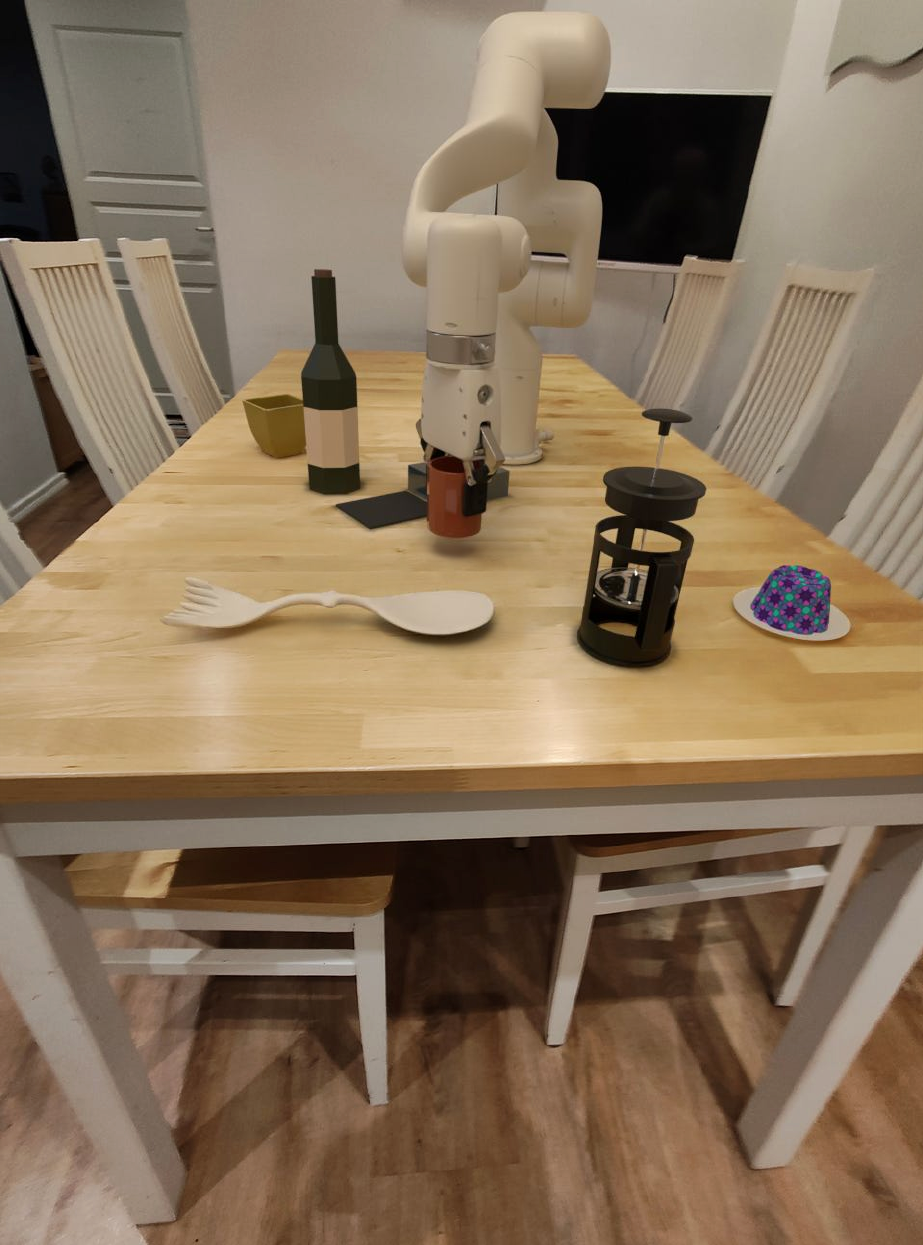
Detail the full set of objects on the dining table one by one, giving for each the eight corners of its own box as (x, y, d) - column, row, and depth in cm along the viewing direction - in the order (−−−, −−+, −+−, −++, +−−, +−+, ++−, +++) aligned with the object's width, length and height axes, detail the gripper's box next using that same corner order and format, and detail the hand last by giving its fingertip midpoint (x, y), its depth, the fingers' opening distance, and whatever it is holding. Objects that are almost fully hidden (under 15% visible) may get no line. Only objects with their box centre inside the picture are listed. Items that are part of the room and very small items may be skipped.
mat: (405, 492, 104) (405, 490, 104) (443, 513, 97) (443, 510, 97) (335, 506, 98) (335, 504, 98) (370, 529, 91) (370, 527, 91)
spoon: (190, 601, 72) (185, 572, 70) (488, 604, 74) (490, 575, 73) (163, 647, 64) (156, 615, 62) (497, 648, 67) (500, 617, 65)
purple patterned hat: (864, 653, 69) (882, 608, 66) (741, 638, 70) (754, 593, 68) (829, 599, 79) (844, 558, 76) (723, 587, 81) (734, 546, 78)
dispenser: (469, 478, 112) (471, 441, 109) (507, 496, 105) (510, 458, 102) (407, 490, 105) (407, 451, 102) (444, 510, 99) (446, 469, 96)
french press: (564, 617, 73) (595, 396, 61) (648, 615, 74) (694, 398, 62) (596, 680, 63) (640, 430, 51) (692, 677, 64) (757, 431, 52)
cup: (460, 512, 88) (462, 452, 84) (492, 530, 84) (496, 467, 80) (416, 523, 85) (416, 460, 81) (447, 542, 80) (449, 477, 76)
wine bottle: (351, 497, 101) (341, 273, 86) (298, 492, 103) (280, 269, 87) (368, 480, 108) (362, 270, 93) (319, 475, 110) (305, 266, 95)
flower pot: (271, 463, 114) (265, 409, 109) (247, 451, 119) (241, 398, 115) (316, 455, 119) (313, 403, 114) (292, 443, 124) (287, 393, 120)
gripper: (539, 360, 70) (524, 521, 79) (443, 334, 81) (439, 477, 91) (482, 366, 66) (473, 535, 75) (389, 338, 77) (391, 487, 87)
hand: (455, 502), depth 83 cm, fingers closed on cup, 6 cm apart
